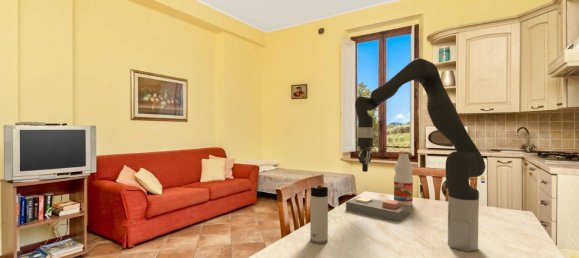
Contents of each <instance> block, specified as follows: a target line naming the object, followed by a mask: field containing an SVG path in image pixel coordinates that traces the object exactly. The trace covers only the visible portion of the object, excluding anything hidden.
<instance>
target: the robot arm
mask: <svg viewBox="0 0 579 258" xmlns="http://www.w3.org/2000/svg"><path fill="white" fill-rule="evenodd" d="M412 81H414V82H417V83H419V84H420V85H421V87H422V88H423V89H424V92H425V93H426V98H427V103H426V109H427V112H428V116H429V118H430V120H431V123H432V125H433V126H434V128H435V130H437V131H438V132H439V133H440V134H441V135H443V136H444V137H445V138H446V139H447V140H448V141H449V142H450V143H451V144H452V146H453V148H454V149H455V151H451V152H450V153H449V154H448V155H447V157H446V159H445V184H446V189H447V192H448V194H447V195H448V202H447V203H448V206H447V244H448V245H449V248H452V249H455V250H459V251H462V252H466V253H467V252H468V253H471V252H475V251H477V250H478V249H479V211H480V210H479V209H480V206H479V205H480V192H479V190H478V189H476V188H474V187H472V186H471V185H470V178H478V177H481V176H482V175H483V174H484V173H485V170H486V162H485V159H484V157H483V155H482V154H481V152H480V150H479V149H478V147H477V146H476V144H475V143H474V141H473V139H472V138H471V136H470V135H469V132H468V131H467V129H466V127H465V125H464V123H463V122H462V120H461V117H460V116H459V113H458V111H457V109H456V107H455V104H454V103H453V102H452V100H451V98H450V95H449V94H448V92H447V90H446V88H445V87H444V84H443V82H442V79H441V75H440V73H439V69H438V67H437V66H436V65H435V63H433V62H431V61H429V60H427V59H425V58H422V57H419V58H414V59H413V60H411V61H409V63H407V65H405V66H404V67H403V68H402V69H401V70H400V71H398V72H397V73H396V74H395V75H394V76H392V77H391V78H390V79H389V80H387V81H386V82H384V84H382V85H380V86H378V87H377V88H375V89H373V90H372V91H371V94H370V96H365V95H360V96H358V97H356V100H355V104H354V108H355V112H356V116H357V119H358V122H357V126H358V127H357V147H359V152H357V153H356V156H357V159H358V161H359V164H361V165H362V172H364V173H366V172H369V171H368V170H369V163H371V161H372V157H373V154H374V152H373V151H371V149H372V148H371V147H374V122H373V121H374V118H373V116H371V115H369V112H368V111H374V110H375V109H377V107H379V106H380V105H381V104H382V103H383V102H385V101H387V100H388V99H390V98H392V97H393V96H395V95H396V93H397V92H398V91H399V89H400V88H401V87H402V86H403V85H405V84H407V83H409V82H412Z"/></svg>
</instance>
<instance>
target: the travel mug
mask: <svg viewBox="0 0 579 258" xmlns="http://www.w3.org/2000/svg"><path fill="white" fill-rule="evenodd" d="M328 193H329V187H328V186H319V187H314V186H311V187H310V219H309V220H310V225H309V226H310V228H309V229H310V231H309V234H310V236H309V237H310V239H309V240H310V242H311V243H313V244H316V245H323V244H326V243H328V239H329V237H328V236H329V234H328V232H329V230H328V229H329V226H328V225H329V223H328V222H329V194H328Z"/></svg>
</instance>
